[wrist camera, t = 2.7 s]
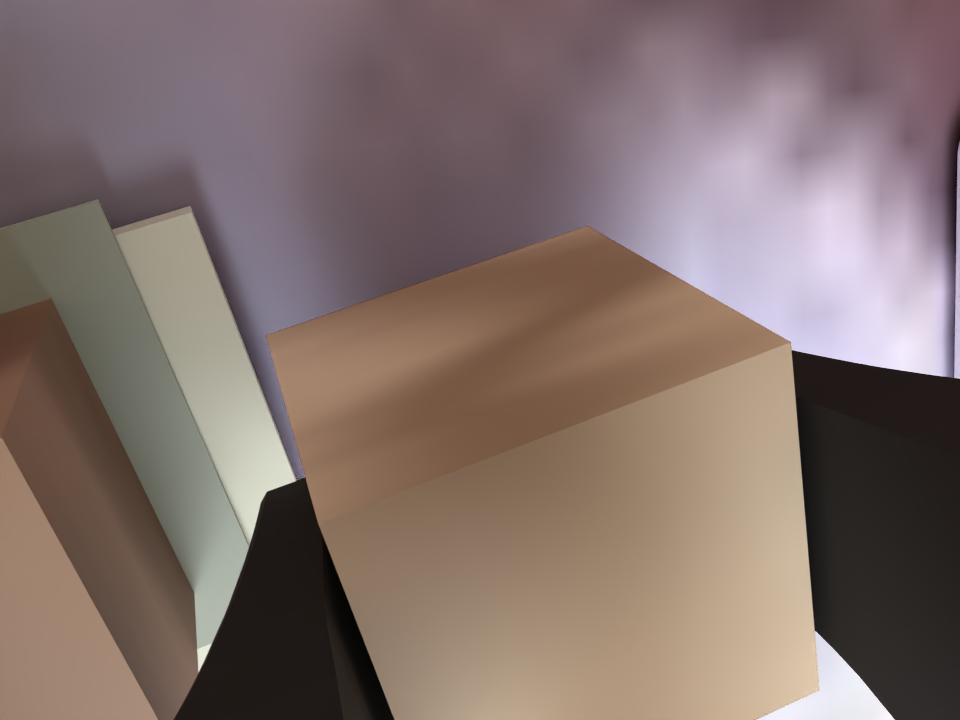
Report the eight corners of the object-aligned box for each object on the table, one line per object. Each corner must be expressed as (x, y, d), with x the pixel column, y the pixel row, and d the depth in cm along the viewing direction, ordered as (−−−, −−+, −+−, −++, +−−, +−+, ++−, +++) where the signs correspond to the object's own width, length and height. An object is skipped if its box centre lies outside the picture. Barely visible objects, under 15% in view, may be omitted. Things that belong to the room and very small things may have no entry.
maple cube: (587, 225, 12) (790, 342, 8) (636, 492, 14) (819, 690, 10) (266, 335, 11) (317, 523, 7) (366, 601, 13) (450, 863, 9)
